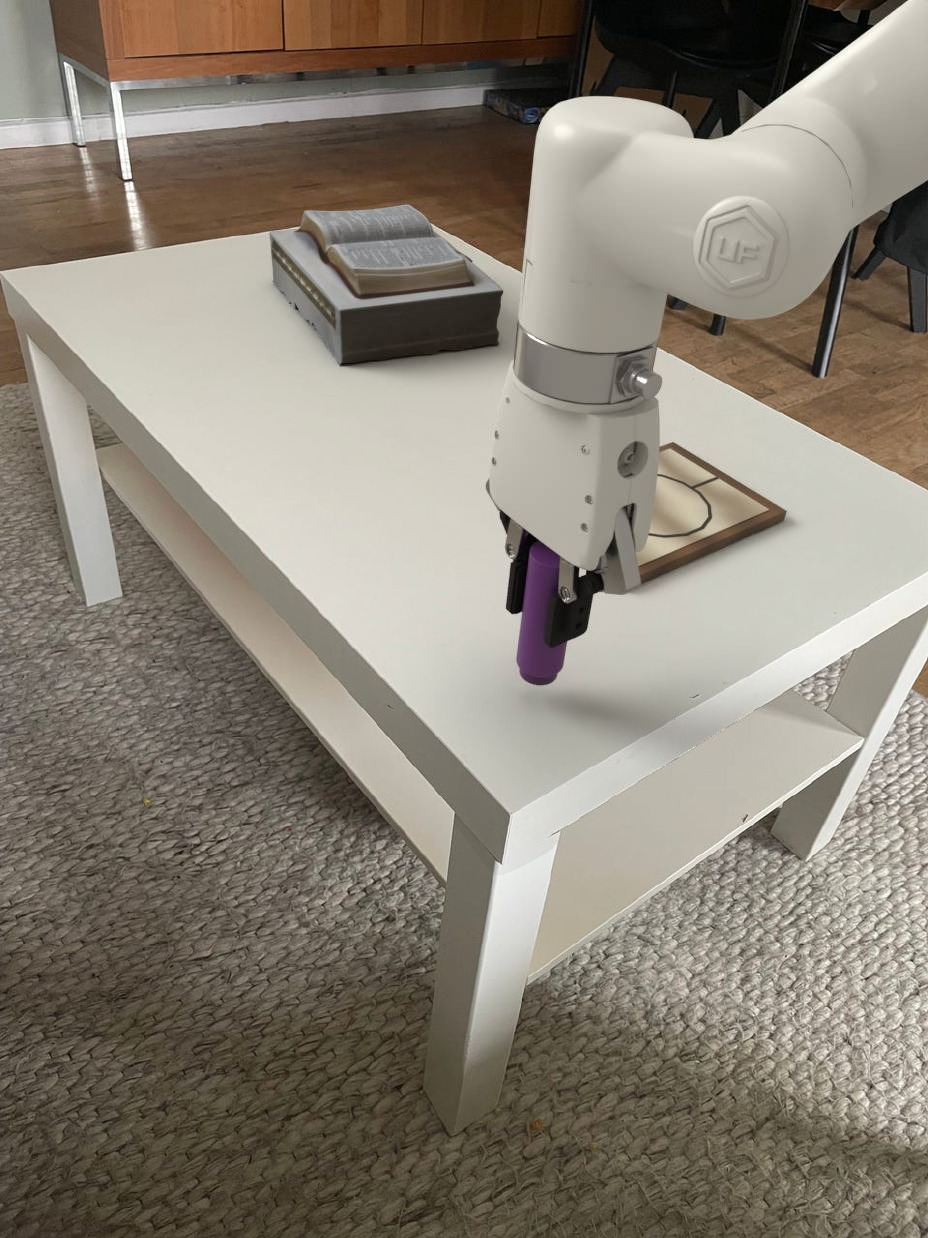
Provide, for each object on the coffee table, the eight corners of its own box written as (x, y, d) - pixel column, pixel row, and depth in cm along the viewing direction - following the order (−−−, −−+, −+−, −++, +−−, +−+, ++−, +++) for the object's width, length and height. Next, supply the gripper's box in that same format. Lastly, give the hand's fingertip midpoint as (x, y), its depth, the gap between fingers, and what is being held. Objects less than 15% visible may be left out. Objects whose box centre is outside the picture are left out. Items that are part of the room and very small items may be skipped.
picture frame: (671, 450, 98) (673, 440, 97) (783, 520, 90) (787, 509, 89) (512, 507, 88) (514, 495, 87) (623, 591, 80) (626, 580, 79)
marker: (565, 662, 69) (585, 543, 63) (557, 693, 67) (577, 572, 61) (519, 653, 70) (535, 534, 64) (510, 683, 67) (525, 562, 61)
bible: (449, 268, 131) (454, 189, 125) (509, 358, 111) (519, 270, 105) (267, 271, 125) (264, 189, 119) (297, 368, 105) (294, 275, 99)
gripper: (746, 403, 51) (676, 673, 62) (540, 293, 61) (512, 543, 72) (639, 439, 47) (585, 719, 59) (439, 316, 57) (427, 575, 69)
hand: (545, 619), depth 65 cm, fingers closed on marker, 3 cm apart
